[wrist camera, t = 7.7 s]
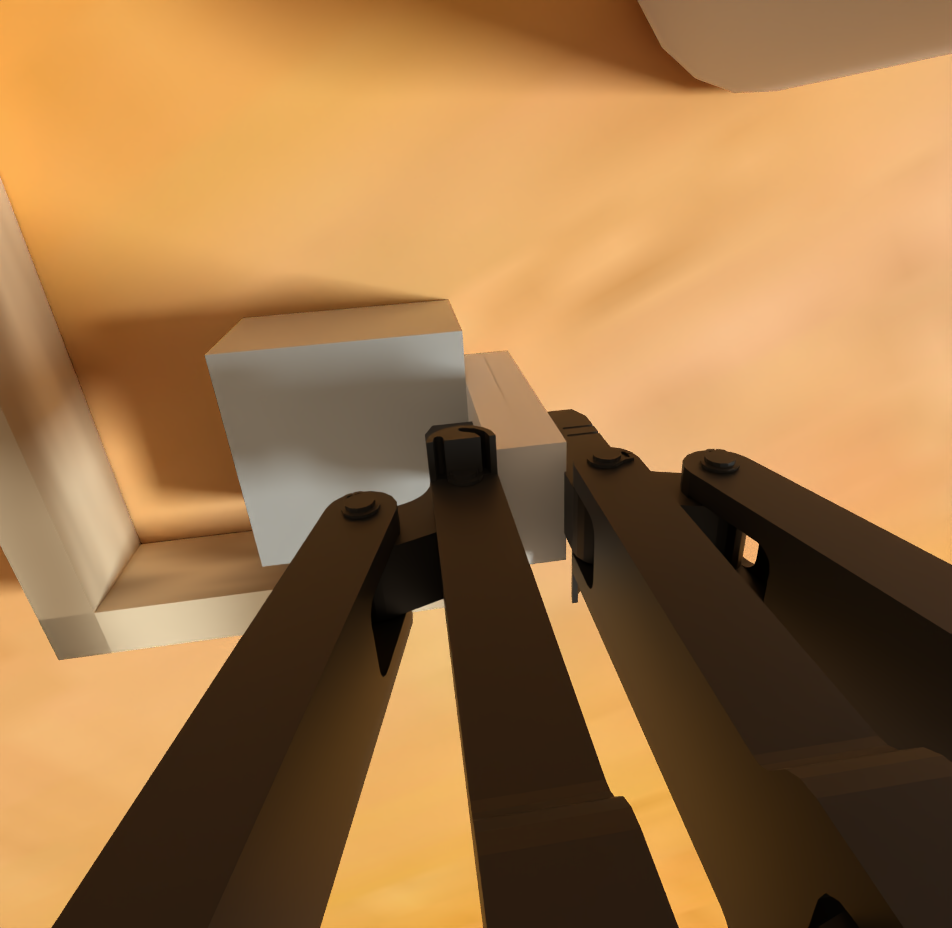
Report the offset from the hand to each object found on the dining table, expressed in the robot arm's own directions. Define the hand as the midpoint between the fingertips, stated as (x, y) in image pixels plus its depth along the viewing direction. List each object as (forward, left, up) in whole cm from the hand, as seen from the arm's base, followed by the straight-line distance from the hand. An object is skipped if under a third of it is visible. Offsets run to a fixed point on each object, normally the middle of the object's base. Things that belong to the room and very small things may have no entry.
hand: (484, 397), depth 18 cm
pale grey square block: (-4, 0, -2) cm, 4 cm away
